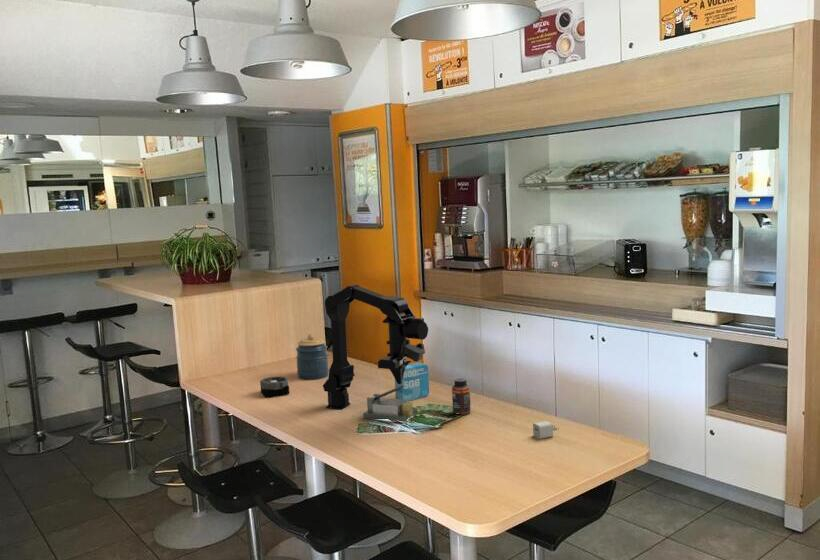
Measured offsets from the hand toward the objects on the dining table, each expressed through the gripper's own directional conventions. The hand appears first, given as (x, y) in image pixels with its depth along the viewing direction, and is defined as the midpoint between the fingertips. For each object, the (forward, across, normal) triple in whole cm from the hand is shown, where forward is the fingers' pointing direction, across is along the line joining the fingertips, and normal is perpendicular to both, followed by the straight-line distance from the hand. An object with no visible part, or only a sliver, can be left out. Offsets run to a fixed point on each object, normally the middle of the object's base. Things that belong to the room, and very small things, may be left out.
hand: (399, 383), depth 232 cm
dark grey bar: (+4, 0, +5) cm, 6 cm away
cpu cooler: (+12, +12, +59) cm, 61 cm away
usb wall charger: (+12, -2, -49) cm, 50 cm away
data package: (+12, +22, +6) cm, 26 cm away
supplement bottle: (+12, +11, -17) cm, 23 cm away
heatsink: (+12, 0, +4) cm, 12 cm away
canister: (+12, +39, +59) cm, 72 cm away
